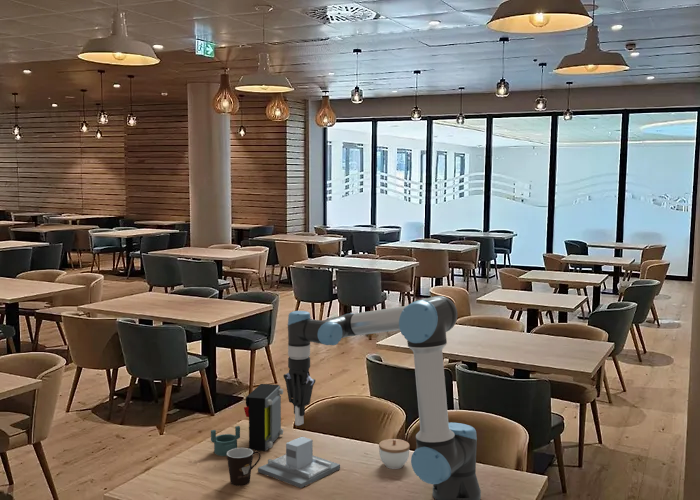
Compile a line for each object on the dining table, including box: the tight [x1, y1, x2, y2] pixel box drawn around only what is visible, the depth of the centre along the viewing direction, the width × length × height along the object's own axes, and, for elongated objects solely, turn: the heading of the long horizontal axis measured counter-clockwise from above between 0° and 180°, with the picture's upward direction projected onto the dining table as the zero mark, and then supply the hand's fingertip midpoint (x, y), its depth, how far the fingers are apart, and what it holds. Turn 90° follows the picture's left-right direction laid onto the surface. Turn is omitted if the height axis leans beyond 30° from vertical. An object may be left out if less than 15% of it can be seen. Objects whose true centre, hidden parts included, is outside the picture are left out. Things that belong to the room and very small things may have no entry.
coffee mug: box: [226, 447, 262, 487], centre depth 229 cm, size 12×9×10 cm
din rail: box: [267, 453, 331, 479], centre depth 239 cm, size 19×12×2 cm, turn 51°
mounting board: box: [257, 455, 341, 489], centre depth 239 cm, size 20×20×2 cm
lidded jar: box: [378, 438, 411, 470], centre depth 243 cm, size 11×11×9 cm
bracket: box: [210, 425, 241, 457], centre depth 255 cm, size 9×9×9 cm
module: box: [285, 436, 314, 469], centre depth 238 cm, size 5×8×8 cm, turn 142°
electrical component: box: [243, 383, 284, 452], centre depth 264 cm, size 18×10×20 cm, turn 168°
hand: (299, 424), depth 237 cm, fingers closed
